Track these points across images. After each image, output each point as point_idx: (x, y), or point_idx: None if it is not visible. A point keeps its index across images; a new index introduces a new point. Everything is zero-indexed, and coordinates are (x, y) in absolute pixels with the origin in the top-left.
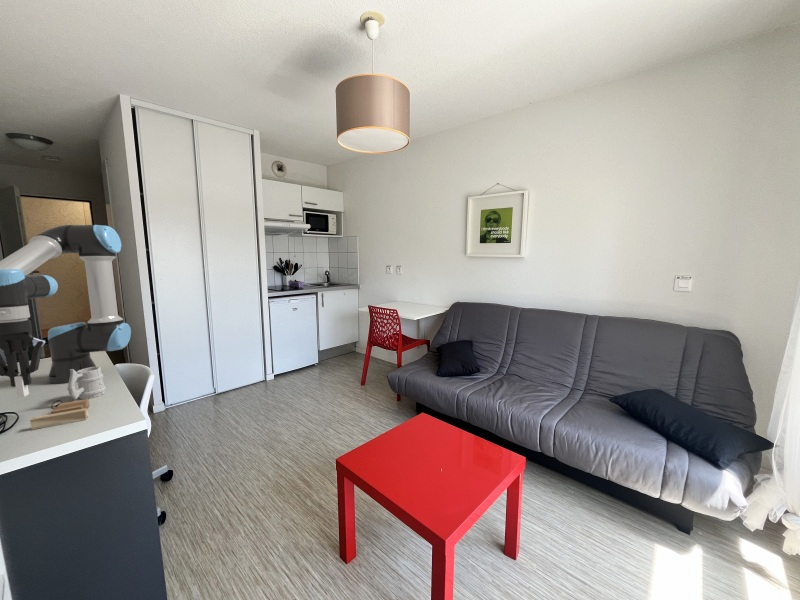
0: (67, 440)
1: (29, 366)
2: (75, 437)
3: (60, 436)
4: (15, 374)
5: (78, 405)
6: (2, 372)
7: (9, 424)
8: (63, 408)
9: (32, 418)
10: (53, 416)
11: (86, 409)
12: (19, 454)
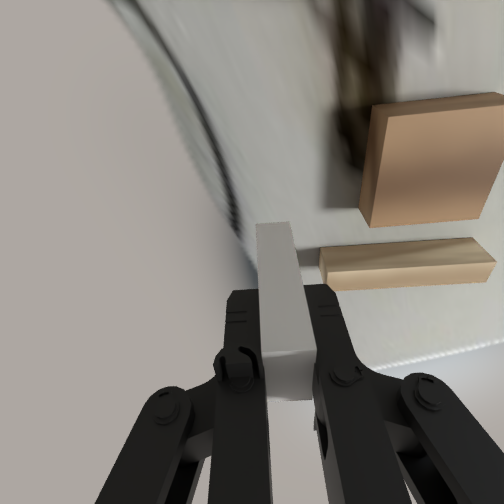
0: (418, 351)
1: (389, 448)
2: (433, 345)
3: (402, 330)
4: (267, 410)
5: (469, 198)
6: (186, 471)
7: (210, 180)
8: (411, 208)
9: (327, 280)
10: (390, 286)
11: (491, 266)
12: None
